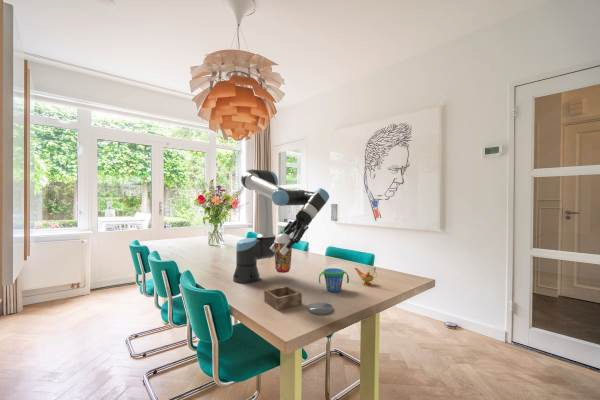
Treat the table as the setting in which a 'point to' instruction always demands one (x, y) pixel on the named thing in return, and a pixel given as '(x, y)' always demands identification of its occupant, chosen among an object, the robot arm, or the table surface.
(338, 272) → the snack cup
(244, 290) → the table surface
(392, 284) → the table surface
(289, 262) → the smoothie
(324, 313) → the slate coaster
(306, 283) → the table surface
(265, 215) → the robot arm
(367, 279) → the magic lamp
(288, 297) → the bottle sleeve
